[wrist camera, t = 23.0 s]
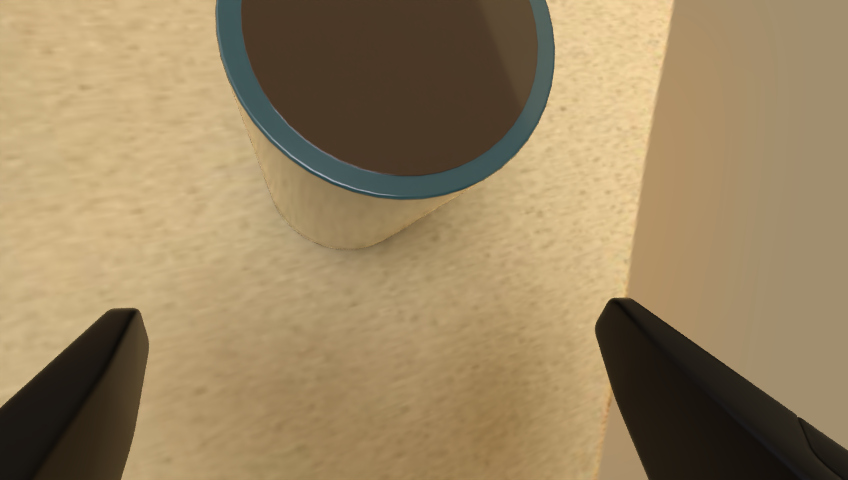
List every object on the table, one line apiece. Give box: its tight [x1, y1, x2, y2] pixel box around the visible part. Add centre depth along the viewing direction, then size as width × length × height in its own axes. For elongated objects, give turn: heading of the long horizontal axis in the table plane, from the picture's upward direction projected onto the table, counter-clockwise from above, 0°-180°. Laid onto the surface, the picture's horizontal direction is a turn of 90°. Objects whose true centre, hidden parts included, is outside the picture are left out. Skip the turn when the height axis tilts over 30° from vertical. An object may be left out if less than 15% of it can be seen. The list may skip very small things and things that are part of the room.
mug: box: [215, 0, 555, 250], centre depth 16 cm, size 10×7×13 cm
